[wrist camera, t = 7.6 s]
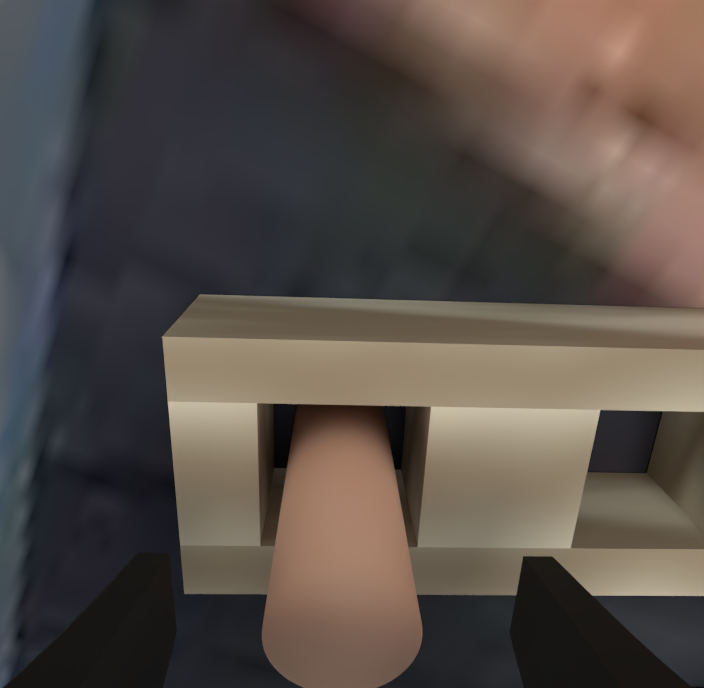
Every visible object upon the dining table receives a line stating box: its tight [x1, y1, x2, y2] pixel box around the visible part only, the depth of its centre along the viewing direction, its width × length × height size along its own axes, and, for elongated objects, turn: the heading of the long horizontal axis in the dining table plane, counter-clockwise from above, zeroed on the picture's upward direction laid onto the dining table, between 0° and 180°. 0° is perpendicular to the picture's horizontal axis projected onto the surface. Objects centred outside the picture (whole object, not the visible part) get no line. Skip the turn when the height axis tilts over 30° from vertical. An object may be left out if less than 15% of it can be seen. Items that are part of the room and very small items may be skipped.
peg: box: [262, 404, 423, 688], centre depth 14 cm, size 3×3×9 cm
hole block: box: [162, 294, 704, 596], centre depth 17 cm, size 8×18×4 cm, turn 88°
